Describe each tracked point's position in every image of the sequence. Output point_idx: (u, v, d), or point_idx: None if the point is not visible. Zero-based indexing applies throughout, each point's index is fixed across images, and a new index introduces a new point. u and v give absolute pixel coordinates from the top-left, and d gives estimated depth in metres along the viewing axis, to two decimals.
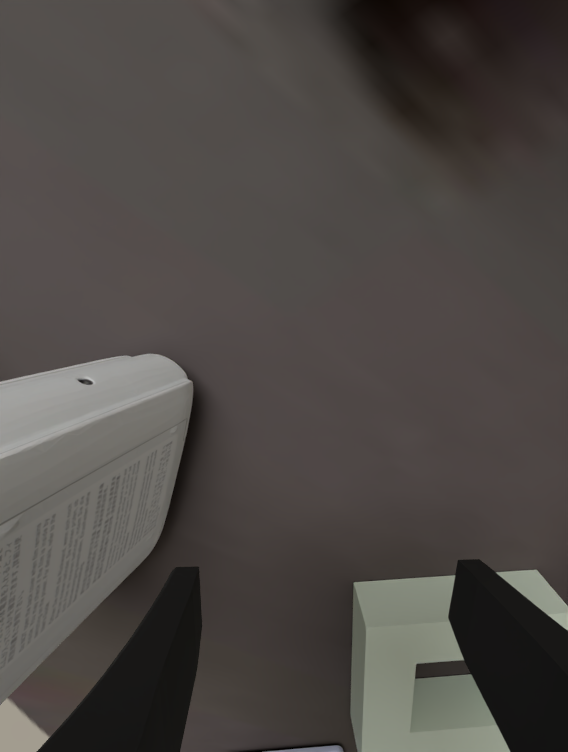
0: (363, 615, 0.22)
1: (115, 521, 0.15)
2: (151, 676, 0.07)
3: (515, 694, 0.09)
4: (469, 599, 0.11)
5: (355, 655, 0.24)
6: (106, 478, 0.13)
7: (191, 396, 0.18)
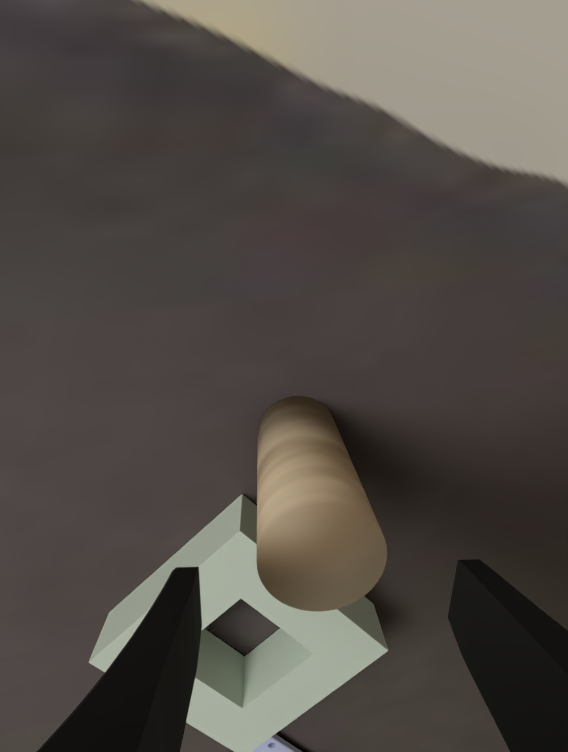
0: (95, 648, 0.22)
1: None
2: (151, 676, 0.07)
3: (515, 694, 0.09)
4: (469, 599, 0.11)
5: None
6: None
7: None
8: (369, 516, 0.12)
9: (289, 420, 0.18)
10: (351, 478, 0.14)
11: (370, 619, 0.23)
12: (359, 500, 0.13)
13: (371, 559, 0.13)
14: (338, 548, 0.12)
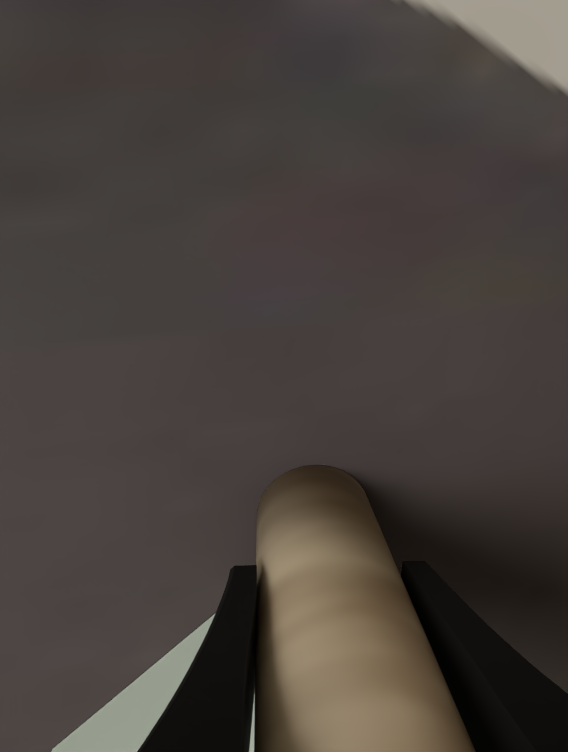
0: None
1: None
2: (236, 673, 0.08)
3: None
4: None
5: None
6: None
7: None
8: None
9: (305, 519, 0.11)
10: (430, 678, 0.08)
11: None
12: None
13: None
14: None
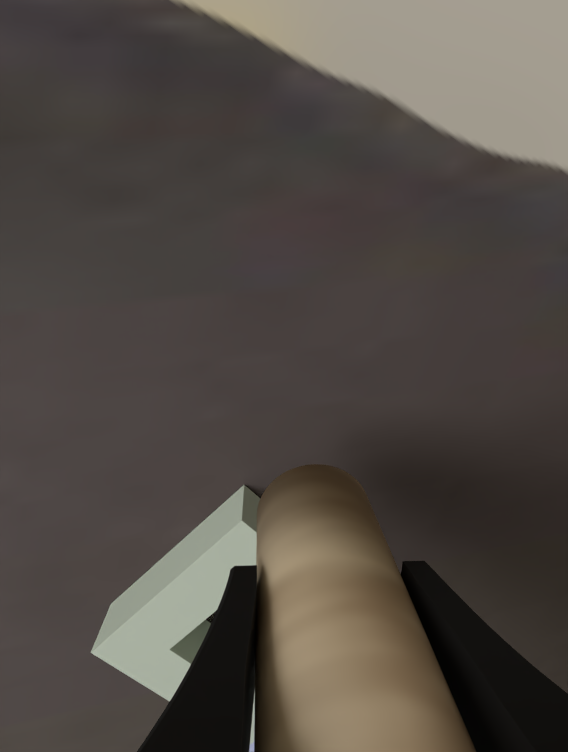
0: (97, 638, 0.22)
1: None
2: (236, 672, 0.08)
3: None
4: None
5: None
6: None
7: None
8: None
9: (305, 518, 0.11)
10: (430, 677, 0.07)
11: None
12: None
13: None
14: None
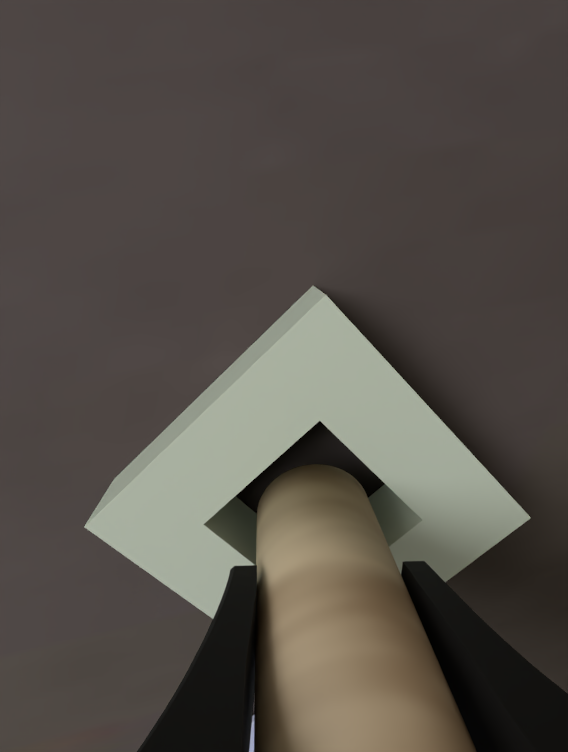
0: (94, 512, 0.14)
1: None
2: (236, 673, 0.08)
3: None
4: None
5: None
6: None
7: None
8: None
9: (306, 517, 0.11)
10: (432, 679, 0.07)
11: None
12: None
13: None
14: None
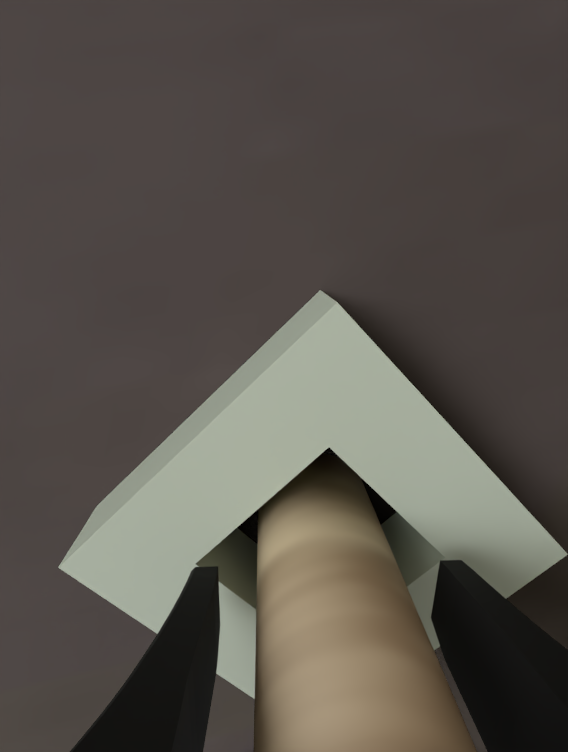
0: (71, 548, 0.13)
1: None
2: (179, 675, 0.07)
3: (493, 695, 0.09)
4: (450, 599, 0.11)
5: None
6: None
7: None
8: None
9: (305, 500, 0.12)
10: (416, 637, 0.08)
11: None
12: (442, 706, 0.07)
13: None
14: None
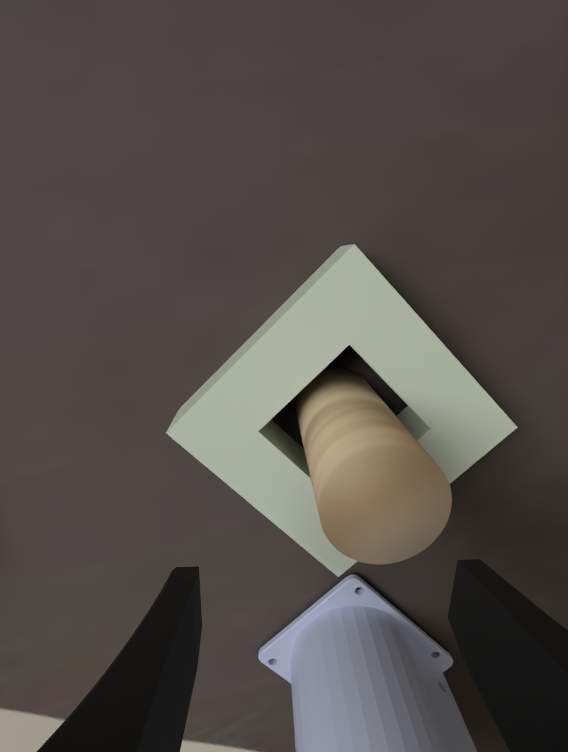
0: (170, 425, 0.18)
1: None
2: (151, 676, 0.07)
3: (515, 694, 0.09)
4: (469, 599, 0.11)
5: None
6: None
7: None
8: (435, 462, 0.12)
9: (333, 385, 0.18)
10: (408, 432, 0.14)
11: None
12: (422, 448, 0.13)
13: (435, 508, 0.12)
14: (403, 496, 0.12)
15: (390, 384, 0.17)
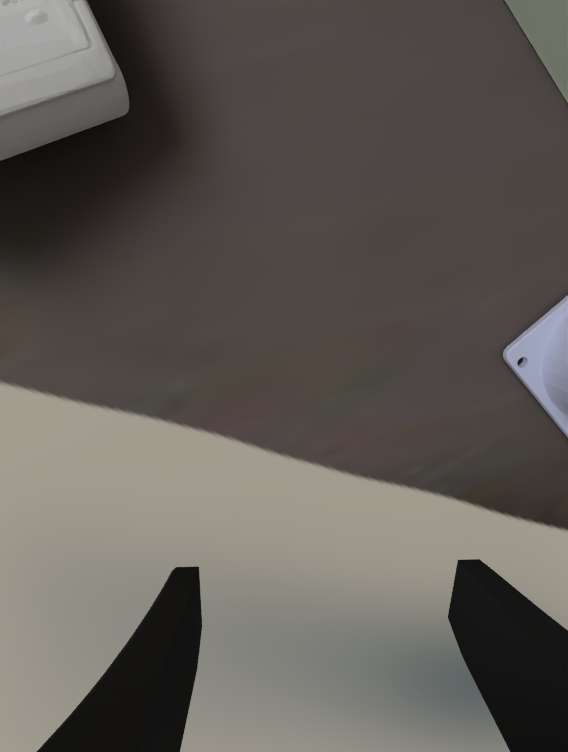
0: None
1: None
2: (151, 676, 0.07)
3: (515, 694, 0.09)
4: (469, 599, 0.11)
5: (556, 49, 0.16)
6: None
7: None
8: None
9: None
10: None
11: None
12: None
13: None
14: None
15: None
